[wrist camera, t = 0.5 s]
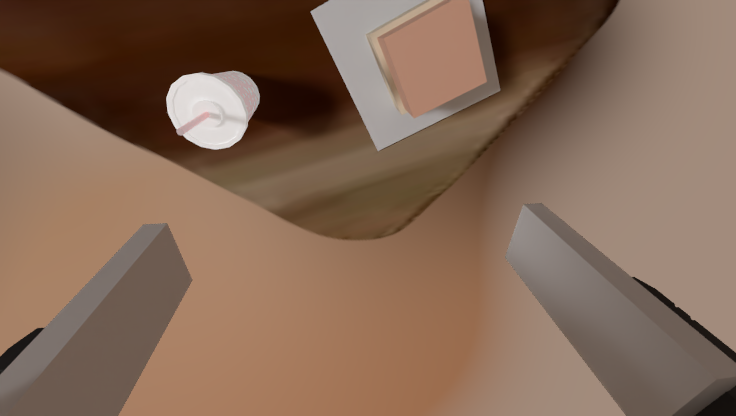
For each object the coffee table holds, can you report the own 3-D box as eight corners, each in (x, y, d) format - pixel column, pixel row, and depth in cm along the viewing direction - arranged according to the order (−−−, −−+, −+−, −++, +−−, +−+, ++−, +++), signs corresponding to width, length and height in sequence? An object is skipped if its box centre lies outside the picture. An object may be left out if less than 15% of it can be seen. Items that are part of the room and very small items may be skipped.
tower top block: (376, 37, 26) (383, 38, 23) (448, -3, 25) (467, -8, 22) (404, 108, 30) (414, 118, 26) (468, 75, 29) (487, 81, 25)
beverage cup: (247, 53, 29) (189, 67, 17) (277, 110, 32) (246, 155, 21) (194, 76, 30) (104, 104, 18) (229, 130, 33) (172, 185, 21)
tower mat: (310, 11, 28) (310, 11, 28) (464, -80, 26) (466, -81, 25) (377, 150, 36) (378, 151, 36) (498, 89, 34) (500, 90, 34)
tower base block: (365, 34, 29) (369, 34, 26) (438, -7, 28) (452, -12, 25) (394, 106, 33) (402, 115, 30) (459, 73, 32) (474, 78, 29)
